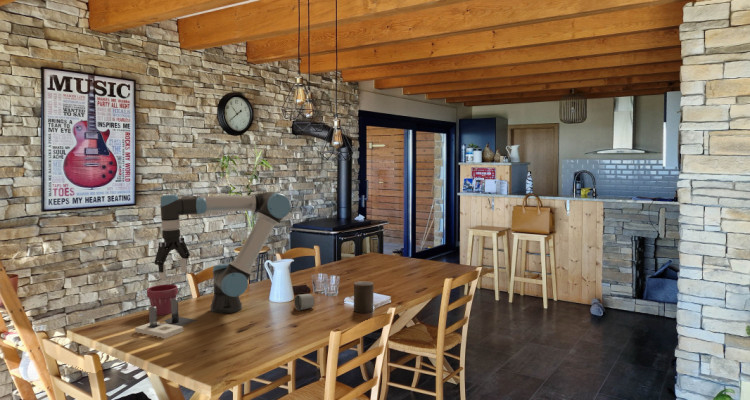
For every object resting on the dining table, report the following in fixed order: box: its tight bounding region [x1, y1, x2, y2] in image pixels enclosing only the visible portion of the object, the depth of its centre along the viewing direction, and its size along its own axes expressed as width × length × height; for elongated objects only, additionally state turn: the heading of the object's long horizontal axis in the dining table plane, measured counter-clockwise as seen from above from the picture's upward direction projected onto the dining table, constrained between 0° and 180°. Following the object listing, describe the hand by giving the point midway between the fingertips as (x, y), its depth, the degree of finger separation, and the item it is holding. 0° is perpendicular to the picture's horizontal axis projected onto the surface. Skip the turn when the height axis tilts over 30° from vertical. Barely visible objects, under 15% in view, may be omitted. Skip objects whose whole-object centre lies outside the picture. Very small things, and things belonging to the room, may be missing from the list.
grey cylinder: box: [293, 293, 316, 311], centre depth 266 cm, size 11×8×8 cm
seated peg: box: [148, 305, 158, 328], centre depth 231 cm, size 3×3×11 cm
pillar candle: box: [353, 280, 374, 314], centre depth 260 cm, size 10×10×15 cm
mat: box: [163, 316, 198, 327], centre depth 243 cm, size 14×14×1 cm
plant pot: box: [146, 283, 179, 316], centre depth 259 cm, size 14×14×13 cm
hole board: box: [134, 321, 184, 340], centre depth 229 cm, size 10×18×2 cm, turn 63°
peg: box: [170, 297, 180, 323], centre depth 243 cm, size 3×3×11 cm
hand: (173, 275), depth 238 cm, fingers open, 13 cm apart
